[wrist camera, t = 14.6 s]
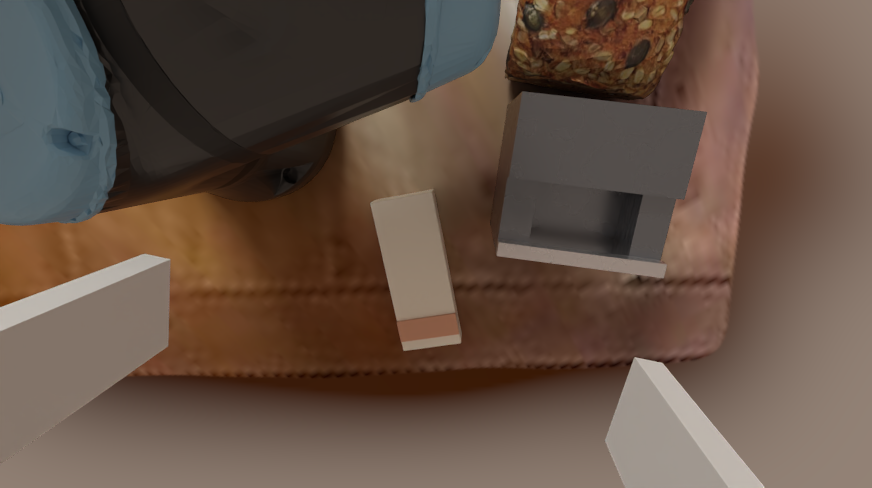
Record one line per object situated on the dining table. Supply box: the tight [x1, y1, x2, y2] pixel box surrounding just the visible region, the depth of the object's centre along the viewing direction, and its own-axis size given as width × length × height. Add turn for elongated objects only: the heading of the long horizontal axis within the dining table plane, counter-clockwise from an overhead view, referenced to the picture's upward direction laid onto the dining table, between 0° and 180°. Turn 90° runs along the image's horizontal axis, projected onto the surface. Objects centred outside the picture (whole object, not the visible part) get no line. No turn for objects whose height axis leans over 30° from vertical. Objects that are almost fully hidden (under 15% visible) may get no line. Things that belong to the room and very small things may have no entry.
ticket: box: [370, 189, 462, 351], centre depth 39 cm, size 5×14×3 cm, turn 11°
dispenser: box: [490, 91, 707, 278], centre depth 31 cm, size 10×10×11 cm
